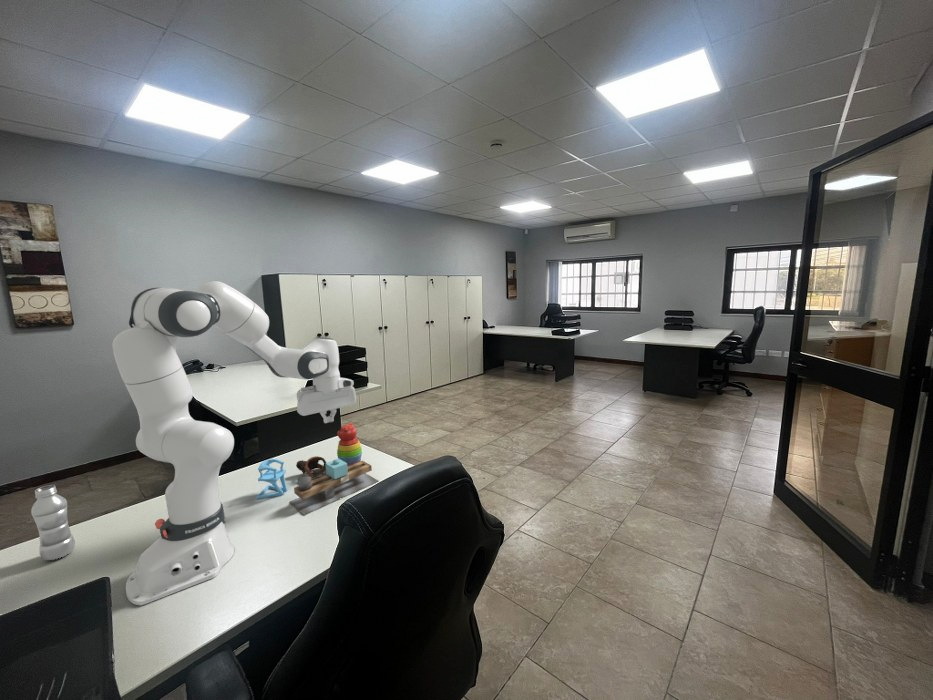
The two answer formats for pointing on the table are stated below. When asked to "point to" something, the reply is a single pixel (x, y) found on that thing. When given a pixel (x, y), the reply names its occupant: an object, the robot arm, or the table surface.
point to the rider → (336, 468)
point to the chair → (272, 478)
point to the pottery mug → (312, 467)
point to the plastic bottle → (52, 523)
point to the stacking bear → (349, 445)
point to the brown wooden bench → (330, 488)
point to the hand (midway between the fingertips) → (328, 422)
